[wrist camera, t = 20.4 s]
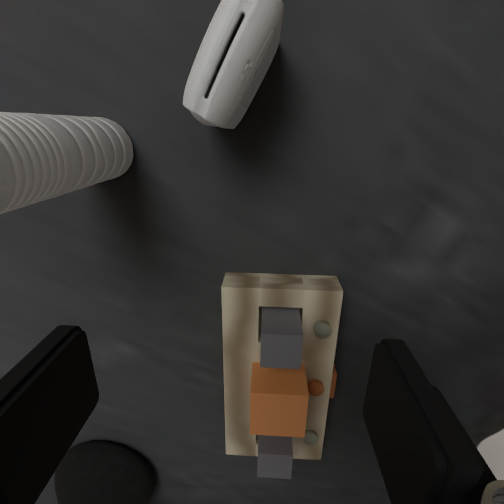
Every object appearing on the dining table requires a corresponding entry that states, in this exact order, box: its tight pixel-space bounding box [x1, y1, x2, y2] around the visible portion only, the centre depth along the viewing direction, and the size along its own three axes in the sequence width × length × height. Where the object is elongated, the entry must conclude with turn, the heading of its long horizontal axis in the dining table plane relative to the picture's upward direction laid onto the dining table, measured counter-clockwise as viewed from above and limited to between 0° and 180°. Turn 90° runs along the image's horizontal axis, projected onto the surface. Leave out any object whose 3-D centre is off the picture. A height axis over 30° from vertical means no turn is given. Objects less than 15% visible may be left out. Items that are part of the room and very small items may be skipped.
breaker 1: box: [260, 306, 303, 369], centre depth 36 cm, size 4×4×6 cm
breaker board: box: [221, 272, 343, 460], centre depth 43 cm, size 15×28×5 cm, turn 179°
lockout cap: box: [250, 362, 309, 438], centre depth 39 cm, size 7×7×5 cm
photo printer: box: [183, 0, 284, 129], centre depth 26 cm, size 10×4×12 cm, turn 150°
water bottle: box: [0, 112, 133, 214], centre depth 24 cm, size 9×6×25 cm
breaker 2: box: [257, 435, 293, 479], centre depth 43 cm, size 4×4×6 cm
